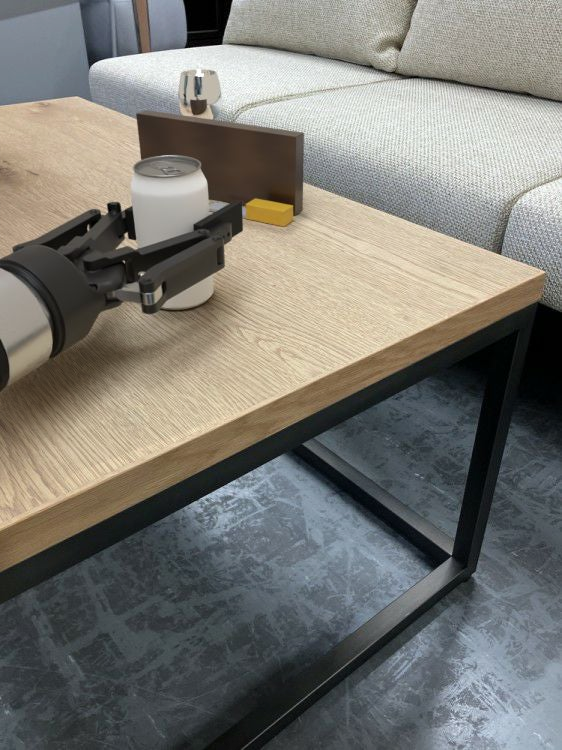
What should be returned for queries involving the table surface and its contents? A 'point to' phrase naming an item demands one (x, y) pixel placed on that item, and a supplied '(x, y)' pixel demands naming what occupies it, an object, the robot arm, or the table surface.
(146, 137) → the backboard
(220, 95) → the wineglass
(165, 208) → the can
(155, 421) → the table surface
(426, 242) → the table surface
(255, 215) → the knife
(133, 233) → the robot arm
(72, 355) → the table surface
